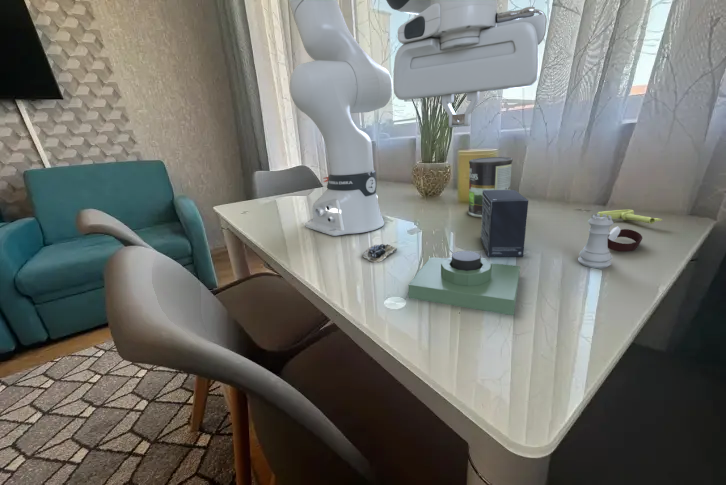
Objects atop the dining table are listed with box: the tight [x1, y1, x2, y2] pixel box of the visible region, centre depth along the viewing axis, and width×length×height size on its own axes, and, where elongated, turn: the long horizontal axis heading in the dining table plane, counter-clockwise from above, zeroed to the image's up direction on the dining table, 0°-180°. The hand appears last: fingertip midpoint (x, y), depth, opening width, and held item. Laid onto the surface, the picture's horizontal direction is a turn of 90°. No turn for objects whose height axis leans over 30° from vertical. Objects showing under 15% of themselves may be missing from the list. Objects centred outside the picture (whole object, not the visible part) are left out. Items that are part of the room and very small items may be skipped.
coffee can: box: [467, 156, 513, 219], centre depth 84 cm, size 10×10×14 cm
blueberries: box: [362, 243, 398, 263], centre depth 64 cm, size 7×8×2 cm
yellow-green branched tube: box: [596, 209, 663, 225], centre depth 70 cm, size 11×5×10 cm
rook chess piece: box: [577, 213, 615, 269], centre depth 51 cm, size 4×4×8 cm
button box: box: [408, 256, 521, 316], centre depth 48 cm, size 14×11×4 cm
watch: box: [608, 226, 643, 252], centre depth 57 cm, size 8×5×4 cm, turn 118°
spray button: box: [451, 250, 482, 271], centre depth 47 cm, size 4×4×2 cm
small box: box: [480, 189, 529, 258], centre depth 61 cm, size 11×6×10 cm, turn 168°
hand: (459, 126), depth 49 cm, fingers closed
